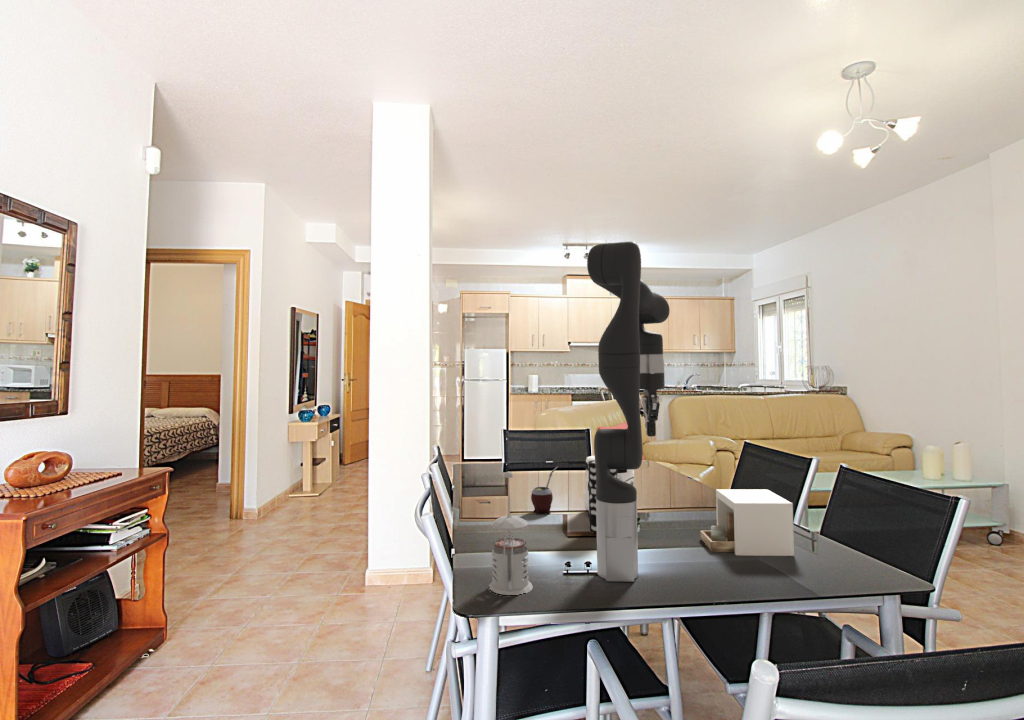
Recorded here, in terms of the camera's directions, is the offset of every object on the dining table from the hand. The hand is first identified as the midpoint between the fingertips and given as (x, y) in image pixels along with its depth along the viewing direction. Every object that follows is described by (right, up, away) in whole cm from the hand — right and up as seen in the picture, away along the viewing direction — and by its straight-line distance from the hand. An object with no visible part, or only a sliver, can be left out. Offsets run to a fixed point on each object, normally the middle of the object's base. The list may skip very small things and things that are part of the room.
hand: (651, 435), depth 147 cm
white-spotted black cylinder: (-11, -30, +12) cm, 34 cm away
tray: (+22, -29, -3) cm, 36 cm away
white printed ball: (-5, -30, +32) cm, 44 cm away
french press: (-38, -29, -29) cm, 56 cm away
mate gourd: (-27, -30, +34) cm, 53 cm away
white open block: (+26, -29, -3) cm, 39 cm away
